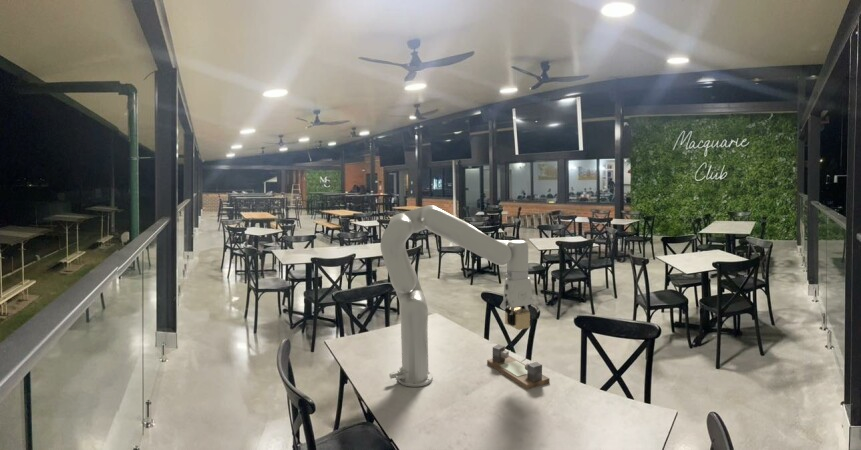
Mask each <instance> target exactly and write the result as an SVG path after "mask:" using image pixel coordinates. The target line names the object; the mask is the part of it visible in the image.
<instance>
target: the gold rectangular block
mask: <svg viewBox="0 0 861 450" xmlns="http://www.w3.org/2000/svg"><path fill="white" fill-rule="evenodd" d="M510 309H511V307H510ZM513 315H514V326H512V325H510V324H508V321H507V313H506V312H505V311H504V324H506V325H507V326H510V327H511V328H514V329H516V330H518V331H522V330H524V329H525V330H526V329H529V328H530V327H531V312H530V310H529V311H528V310H525V309H523V308H521V307H516V308H514V312H513Z"/></svg>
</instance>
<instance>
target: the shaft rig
mask: <svg viewBox="0 0 861 450" xmlns="http://www.w3.org/2000/svg"><path fill="white" fill-rule="evenodd" d="M509 351H510V350H506V346H505V345H501V344H497V345H494V346H492V358H491V359H487V360H486V361H487V362H486V364H487V365H488V366H490V367H492V368H493V369H495V370H496V371H498V372H499V373H500V374H503V375H504V376H506V377H507V378H509V379H511V380H512V381H513V382H515V383H517V384H518V385H520V386H521V387H523V388H525V389H526V390H529V389H533V388H536V387H540V386H542V385H547V384H549V383H550V377H548V376H546V375H544V374H543V364H541V363H539V362H537V361H535V362H532V363H525V364H524V363H523V362H521V361H520V360H518V359H516V358H514V357H513V356H511V355H510V352H509Z"/></svg>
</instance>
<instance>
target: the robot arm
mask: <svg viewBox="0 0 861 450" xmlns="http://www.w3.org/2000/svg"><path fill="white" fill-rule="evenodd" d="M425 230H427V231H429V232H431V233H433V234H435V235H437V236H440V237H441V238H444V239H446V240H447V241H450V242H451V243H453V244H455V245H457V246H459V247H460V248H463V249H465V250H467V251H469V252H472V253H473V254H475V255H477V256H479V257H481V258H483V259H484V260H487V261H489V262H491V263H493V264H495V265H498V266H502V265H506V273H504V276H505V277H506V278H505V280H504V281H505V282H504V288H503V300H502V302H501V304H500V305H499V307H500V309H502V310H503V311H504V313H505V312H506V313H507V321H508V324H510V325H512V326H514V315H513V312H514V308H516V307H520V308H523V309H525V310H528V311H530V308H531V307H532V305H533V304H534V302H535V300H534V298H533V287H532V282H531V277H529V243H528V242H527V241H526V240H523V239H512V240H503V239H495V238H493V237H491V236H489V235H487V234H485V233H484V232H482V231H481V230H479V229H478V228H476V227H475V226H473V224H470V223H469V222H467V221H464V220H462V219H461V218H458V217H456V216H455V215H453V214H450V213H449V212H447V211H445V210H443V209H441V208H439V207H437V206H436V205H432V204H429V205H424V206H422V207H417V208H414V209H410V210H407V211H403V212H400V213H396V214H395V215H393V216H392V217H391V218H390V220H389V223H388V225H387V227H386V228H385V229H384V230H383V232H382V235H381V238H380V251H381V257H382V258H383V261H384V265H385V268H386V269H387V273H388V276H389V280H390V283H391V286H392V287H393V289H394V291H395V294H396V297H397V298H398V299H397V300H398V302H399V306H400V335H401V336H400V341H401V343H400V344H401V366H400V367H399V369H398V370H397V371H395V372H390V373H389V379H391V380H392V379H395V380H396V381H398V383H400V384H401V385H403V386H405V387H410V388H417V387H419V388H420V387H423V386H427V385H429V384H430V383H432V381H433V379H434V378H433V377H434V376H433V373H432V372H430V371H429V337H428V335H429V334H428V327H429V326H428V323H429V322H428V321H429V307H428V303H427V300H426V297H425V295H424V292H423V289H422V286H421V283H420V281H419V278H418V275H417V271H416V270H415V268H414V266H413V265H412V263H411V261H410V260H411V259H410V258H409V254H408V252H407V248H406V243H407V241H408V239H409V238H410V237H411V236H412V234H415V233H418V232H422V231H425ZM510 307H511V309H510Z"/></svg>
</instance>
